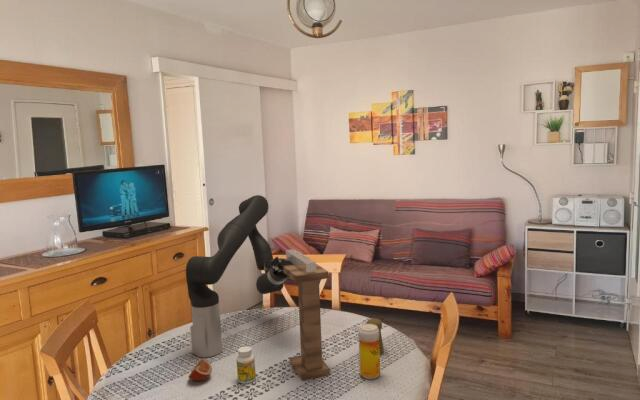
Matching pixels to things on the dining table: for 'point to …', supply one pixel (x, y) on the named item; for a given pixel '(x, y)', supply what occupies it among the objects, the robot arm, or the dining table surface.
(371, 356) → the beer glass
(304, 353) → the walnut stand
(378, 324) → the cork
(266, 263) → the robot arm
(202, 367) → the fruit slice
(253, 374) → the supplement bottle
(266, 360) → the dining table surface
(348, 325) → the dining table surface
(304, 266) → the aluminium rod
